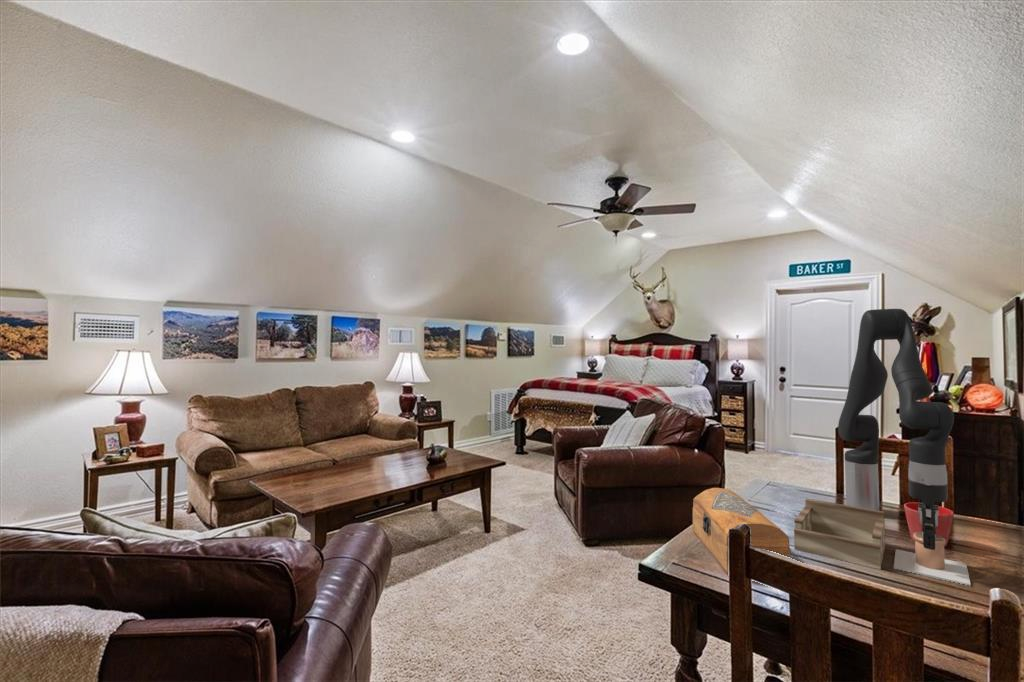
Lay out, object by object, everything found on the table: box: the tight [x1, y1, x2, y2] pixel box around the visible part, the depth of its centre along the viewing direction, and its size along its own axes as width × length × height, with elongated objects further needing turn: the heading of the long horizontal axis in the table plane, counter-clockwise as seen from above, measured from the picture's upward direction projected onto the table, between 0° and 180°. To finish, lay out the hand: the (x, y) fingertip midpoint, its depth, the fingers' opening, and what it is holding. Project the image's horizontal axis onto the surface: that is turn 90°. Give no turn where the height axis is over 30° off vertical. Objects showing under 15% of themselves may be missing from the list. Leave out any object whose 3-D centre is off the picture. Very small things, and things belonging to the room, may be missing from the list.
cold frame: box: [793, 497, 886, 570], centre depth 133 cm, size 19×19×10 cm
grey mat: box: [893, 548, 971, 587], centre depth 120 cm, size 14×14×1 cm
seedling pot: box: [912, 532, 946, 570], centre depth 121 cm, size 6×6×9 cm
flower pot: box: [903, 501, 954, 548], centre depth 136 cm, size 11×11×10 cm
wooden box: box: [692, 487, 791, 576], centre depth 130 cm, size 30×16×14 cm, turn 174°
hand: (929, 543), depth 120 cm, fingers open, 8 cm apart
